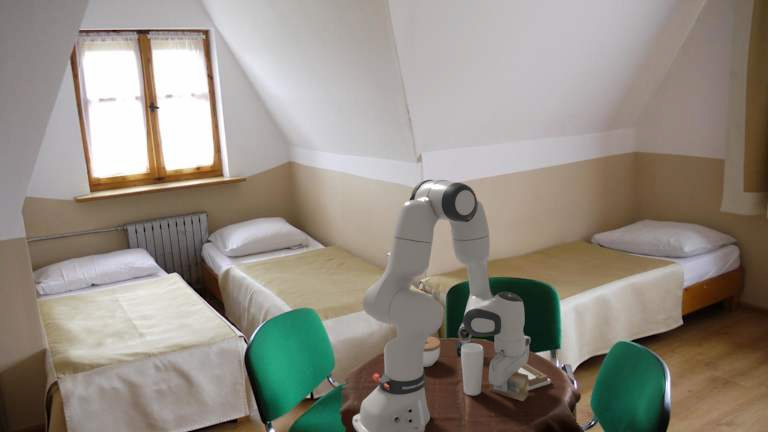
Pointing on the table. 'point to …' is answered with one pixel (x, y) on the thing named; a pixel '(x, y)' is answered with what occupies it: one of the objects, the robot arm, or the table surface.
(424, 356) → the lidded jar
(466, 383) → the drinking glass
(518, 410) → the table surface
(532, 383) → the small wooden cabinet
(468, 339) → the watch
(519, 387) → the cardboard box
